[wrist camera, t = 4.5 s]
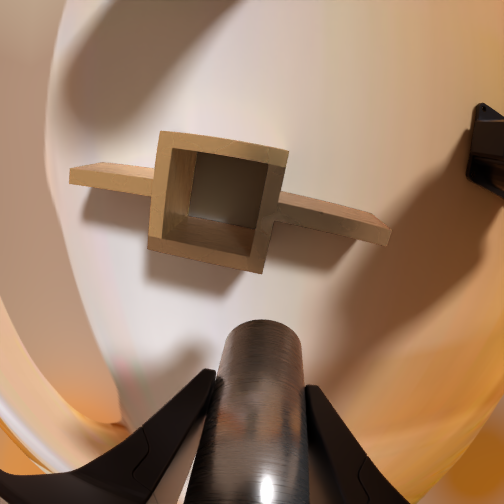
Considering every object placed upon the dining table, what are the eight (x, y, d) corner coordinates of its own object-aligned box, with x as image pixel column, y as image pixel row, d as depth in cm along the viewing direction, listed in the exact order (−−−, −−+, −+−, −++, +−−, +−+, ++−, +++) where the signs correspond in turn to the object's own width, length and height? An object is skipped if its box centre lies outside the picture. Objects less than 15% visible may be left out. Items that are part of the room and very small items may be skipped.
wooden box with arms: (381, 175, 17) (413, 186, 13) (355, 262, 20) (376, 296, 15) (106, 126, 18) (64, 126, 13) (99, 209, 20) (59, 228, 15)
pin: (310, 326, 10) (329, 550, 3) (291, 381, 11) (289, 562, 4) (229, 313, 10) (167, 536, 3) (221, 369, 11) (177, 549, 4)
